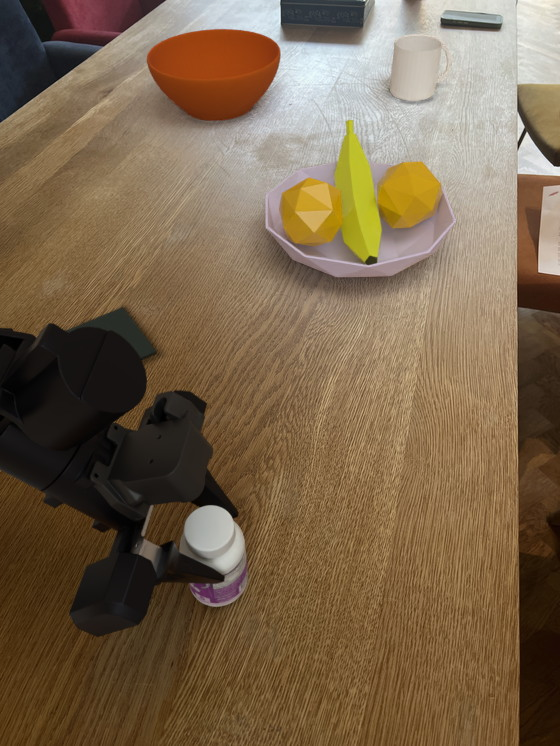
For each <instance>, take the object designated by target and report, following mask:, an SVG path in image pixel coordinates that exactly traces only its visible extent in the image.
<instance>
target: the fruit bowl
mask: <svg viewBox="0 0 560 746" xmlns="http://www.w3.org/2000/svg"><path fill="white" fill-rule="evenodd" d="M345 130H346V134H345V135H344V136H343V140H342V144H341V147H340V151H339V155H338V159H337V161H332V162H328V163H322V164H317V165H313V166H308V167H302V168H298V169H296V170H295V171H294V172H292V173H291V174H290V175H289V176H287V177H286V178H284V179H283V180H281V182H279V183H278V184H277V185H275V186H274V187H273V188H272V189H270V190H269V191H267V192H266V193H265V194H264V195H265V197H264V198H265V229H266V230H267V231H268V232H269V234H270V235H271V236H272V237H273V238H274V239H275V240H276V242H277V244H279V245H280V246H281V248H282V249H283V250H284V251H285V253H286V254H287V255H288V257H290V259H291V260H292V261H294V262H297V263H299V264H302V265H305V266H306V267H309V268H311V269H313V270H314V269H315V270H317V271H319V272H322V273H325V274H327V275H329V276H331V277H334V278H361V277H362V278H366V277H367V278H370V277H373V278H374V277H392V276H394V275H396V274H398V273H400V272H402V271H404V270H406V269H408V268H409V267H412V266H414V265H415V264H418V263H419V262H421V261H424V260H425V259H427V258H429V257H430V256H433V255H434V254H435V253H437V250H438V249H439V248H440V246H441V244H442V243H443V241H444V240H445V239H446V237H447V236H448V234H450V231H451V230H452V228H454V226H455V224H456V223H457V219H456V217H455V214H454V211H453V209H452V206H451V204H450V201H449V199H448V195H447V193H446V190H445V188H444V187H442V184H441V182H440V181H439V180H438V178H437V177H436V176H435V175H434V173H433V172H432V171H431V170H430V169H429V168H428V166H427V165H426V163H424V161H403V162H400V163H398V164H397V163H396V164H391V163H381V162H374V161H369V160H368V158H367V156H366V154H365V151H364V149H363V147H362V145H361V142H360V140H359V138H358V136H357V133H355V131H354V119H347V120H345Z"/></svg>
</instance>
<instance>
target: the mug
mask: <svg viewBox="0 0 560 746" xmlns="http://www.w3.org/2000/svg"><path fill="white" fill-rule="evenodd" d="M393 43H394V44H393V52H392V53H393V54H392V63H391V70H390V71H391V73H390V80H389V82H390V83H389V92H390V94H391V95H392V96H393V97H395V98H396V99H399V100H402V101H405V102H406V101H408V102H421V101H426V100H428V99H430V98H431V97H433V96H434V94H435V93H436V86H437V83H441V82H442V81H443V80H445V79H446V78H447V77H448V76H449V75H450V73H451V68H452V55H451V52H450V50H449V48H448V46H447V45H446V44H444V43H443V41H442V40H441V39H440V38H438V37H436V36H433V35H429V34H421V33H412V34H405V35H401V36H398V37H397V38H395V40H394V42H393ZM442 50H443V52H444V54H445V57H446V66H445V70H444V71H443V72H442V73H441V74H440V75H439V76H438V74H439V68H440V62H441V55H442Z"/></svg>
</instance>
